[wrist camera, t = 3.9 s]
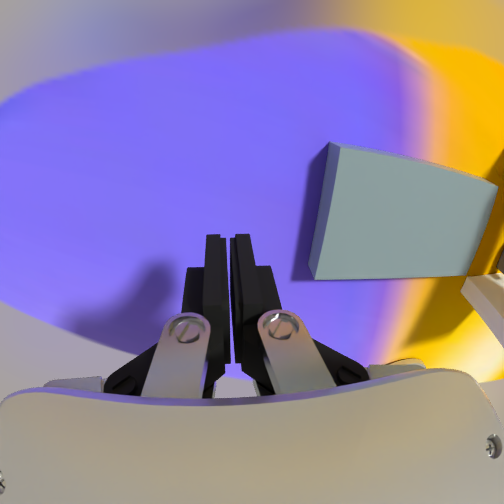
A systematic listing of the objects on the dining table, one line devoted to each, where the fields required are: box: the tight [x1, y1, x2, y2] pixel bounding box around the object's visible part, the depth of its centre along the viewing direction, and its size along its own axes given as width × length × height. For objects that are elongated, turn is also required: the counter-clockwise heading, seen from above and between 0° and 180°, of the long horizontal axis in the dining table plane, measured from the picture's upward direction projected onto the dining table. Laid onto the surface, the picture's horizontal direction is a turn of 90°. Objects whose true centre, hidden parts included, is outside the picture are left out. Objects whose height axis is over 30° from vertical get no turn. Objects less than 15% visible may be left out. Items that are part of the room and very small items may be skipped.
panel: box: [308, 142, 499, 280], centre depth 19 cm, size 9×16×2 cm, turn 86°
